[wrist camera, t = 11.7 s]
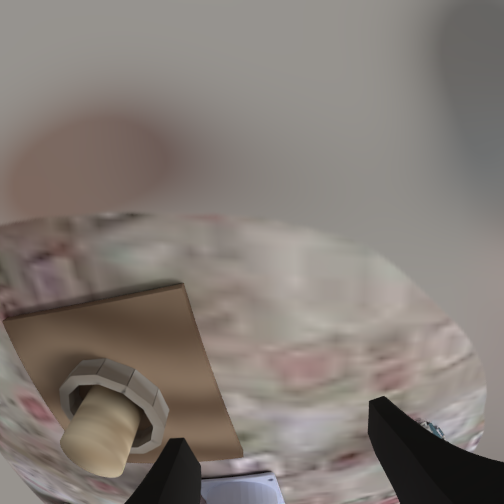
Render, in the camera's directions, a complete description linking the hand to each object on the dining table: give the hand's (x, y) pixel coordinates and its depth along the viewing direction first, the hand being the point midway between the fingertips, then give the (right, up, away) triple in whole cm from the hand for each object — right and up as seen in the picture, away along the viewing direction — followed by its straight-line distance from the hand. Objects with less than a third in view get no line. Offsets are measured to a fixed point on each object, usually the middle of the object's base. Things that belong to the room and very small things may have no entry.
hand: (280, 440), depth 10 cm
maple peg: (-11, -4, +9) cm, 15 cm away
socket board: (-11, -4, +10) cm, 16 cm away
